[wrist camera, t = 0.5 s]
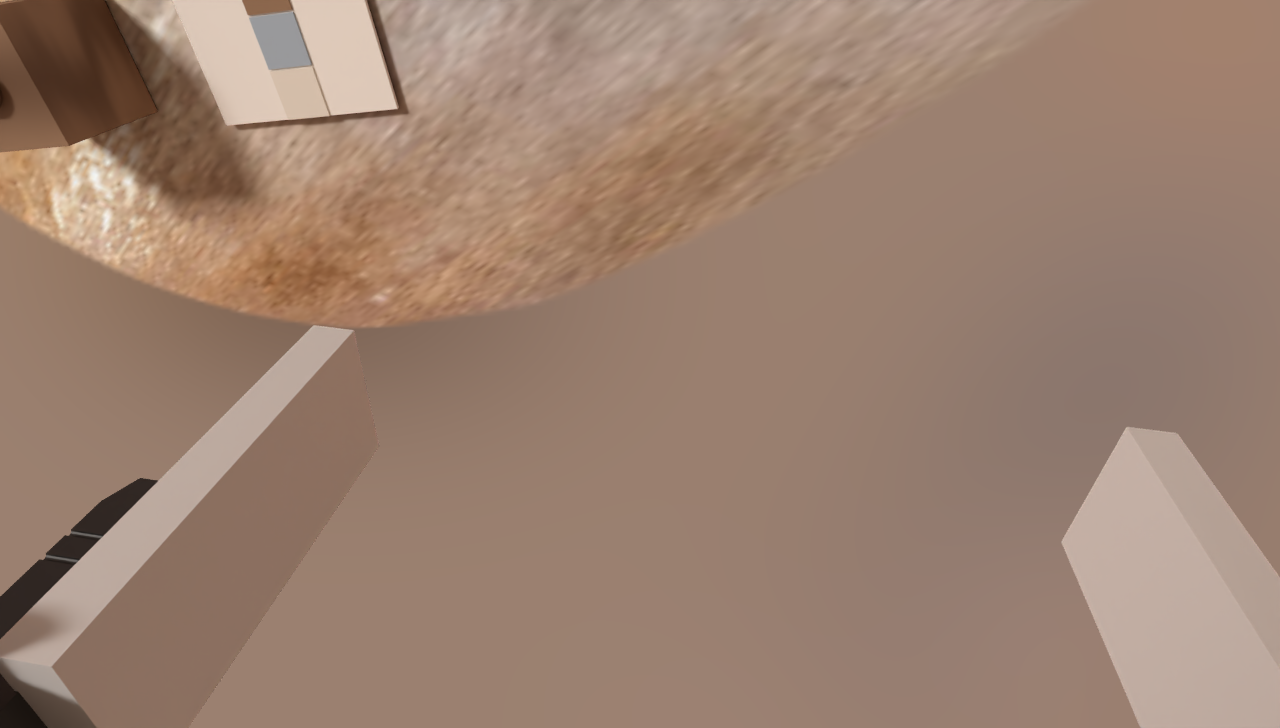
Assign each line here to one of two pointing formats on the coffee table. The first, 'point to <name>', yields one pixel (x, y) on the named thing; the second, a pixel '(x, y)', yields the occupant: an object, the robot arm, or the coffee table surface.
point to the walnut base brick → (64, 74)
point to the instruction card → (288, 57)
